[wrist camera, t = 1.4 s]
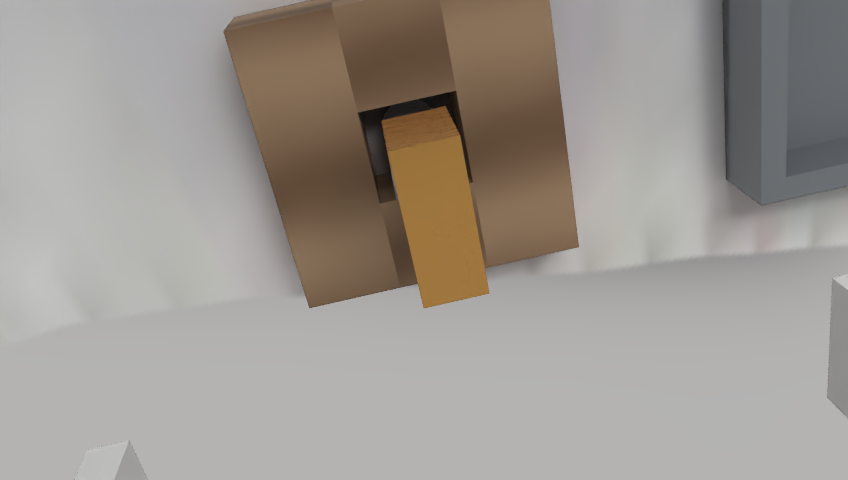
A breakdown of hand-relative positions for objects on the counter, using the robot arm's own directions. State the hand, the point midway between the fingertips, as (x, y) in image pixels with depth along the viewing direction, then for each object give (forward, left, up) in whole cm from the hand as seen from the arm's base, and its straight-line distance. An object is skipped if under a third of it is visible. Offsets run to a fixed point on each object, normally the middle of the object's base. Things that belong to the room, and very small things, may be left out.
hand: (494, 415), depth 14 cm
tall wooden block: (0, 0, -18) cm, 18 cm away
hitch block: (0, 0, -18) cm, 18 cm away
